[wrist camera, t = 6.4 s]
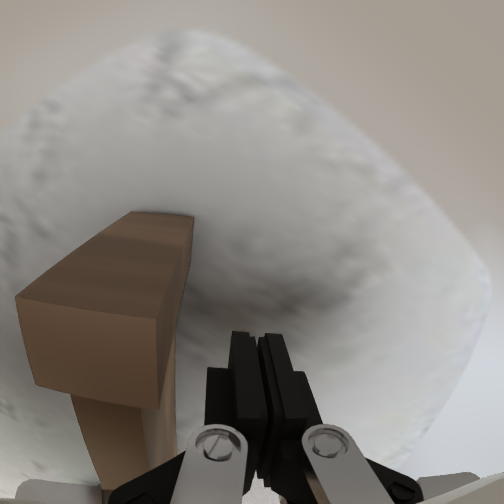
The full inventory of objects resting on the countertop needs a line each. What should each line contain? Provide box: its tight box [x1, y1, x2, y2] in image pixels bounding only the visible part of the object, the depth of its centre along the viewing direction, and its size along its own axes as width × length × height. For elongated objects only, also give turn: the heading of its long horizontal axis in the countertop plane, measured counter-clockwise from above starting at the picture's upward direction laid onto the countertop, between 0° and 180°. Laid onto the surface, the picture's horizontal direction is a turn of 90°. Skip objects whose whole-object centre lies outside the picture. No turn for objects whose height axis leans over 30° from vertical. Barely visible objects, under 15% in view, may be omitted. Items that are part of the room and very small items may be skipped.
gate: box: [15, 211, 194, 490], centre depth 10 cm, size 15×2×8 cm, turn 173°
